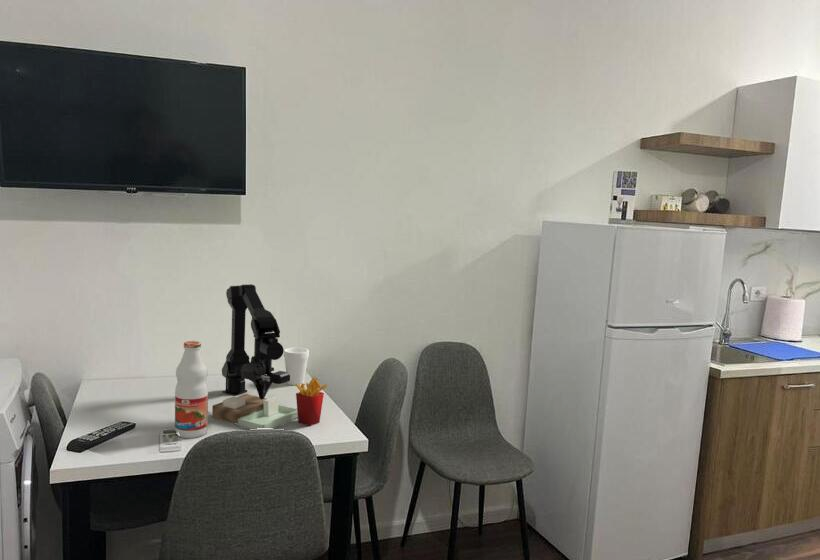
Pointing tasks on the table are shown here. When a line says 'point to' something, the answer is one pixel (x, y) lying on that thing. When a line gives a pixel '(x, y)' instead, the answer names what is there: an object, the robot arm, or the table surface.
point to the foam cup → (296, 364)
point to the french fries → (309, 402)
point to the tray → (268, 418)
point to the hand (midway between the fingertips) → (262, 399)
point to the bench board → (238, 409)
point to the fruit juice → (191, 393)
